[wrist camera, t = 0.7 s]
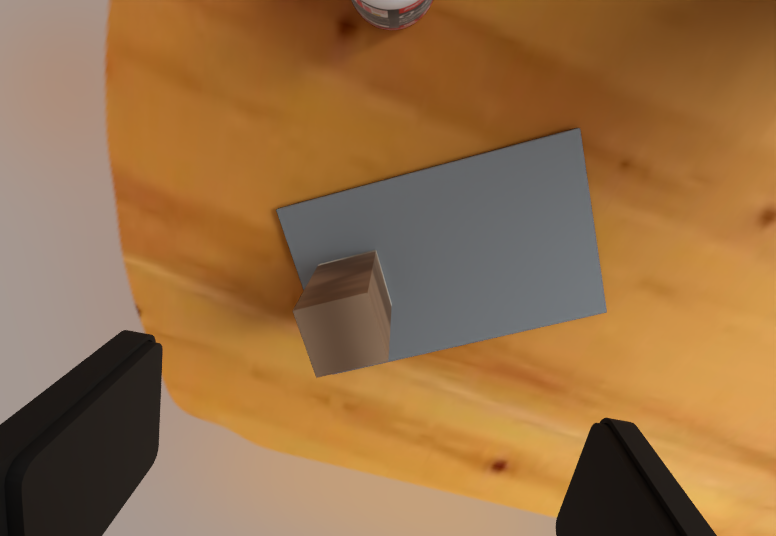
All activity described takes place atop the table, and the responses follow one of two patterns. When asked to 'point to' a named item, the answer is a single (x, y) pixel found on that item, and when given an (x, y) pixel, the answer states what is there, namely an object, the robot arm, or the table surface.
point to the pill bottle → (392, 12)
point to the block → (345, 315)
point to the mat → (467, 243)
